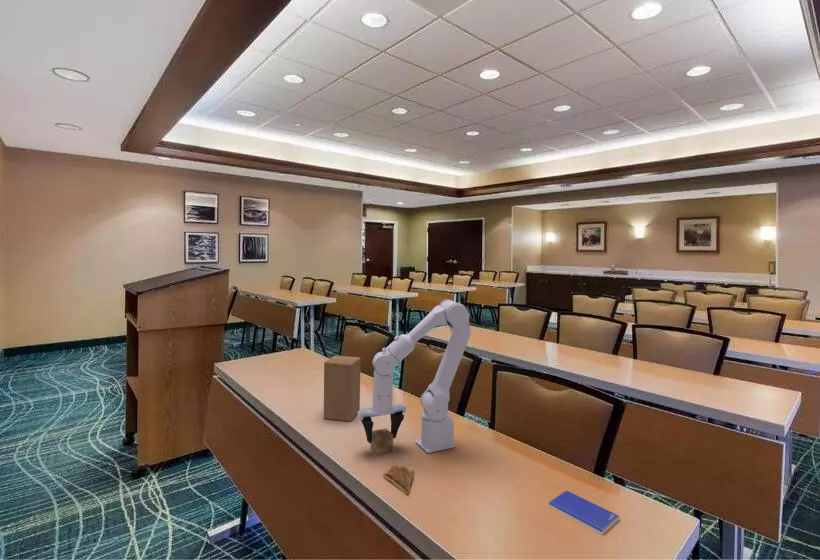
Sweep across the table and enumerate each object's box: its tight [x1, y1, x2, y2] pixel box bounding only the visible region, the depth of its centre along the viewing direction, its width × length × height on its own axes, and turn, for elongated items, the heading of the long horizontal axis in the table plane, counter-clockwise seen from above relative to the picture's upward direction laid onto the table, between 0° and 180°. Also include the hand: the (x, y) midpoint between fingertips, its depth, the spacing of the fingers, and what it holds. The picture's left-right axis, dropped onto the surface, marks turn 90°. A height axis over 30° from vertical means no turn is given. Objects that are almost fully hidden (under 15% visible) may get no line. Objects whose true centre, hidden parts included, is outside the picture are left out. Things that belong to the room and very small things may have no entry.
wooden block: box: [323, 355, 361, 423], centre depth 144 cm, size 10×10×20 cm
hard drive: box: [548, 490, 620, 535], centre depth 93 cm, size 2×8×12 cm
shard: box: [383, 464, 415, 495], centre depth 103 cm, size 11×8×2 cm
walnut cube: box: [370, 427, 394, 455], centre depth 120 cm, size 5×5×5 cm
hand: (381, 439), depth 120 cm, fingers open, 7 cm apart
